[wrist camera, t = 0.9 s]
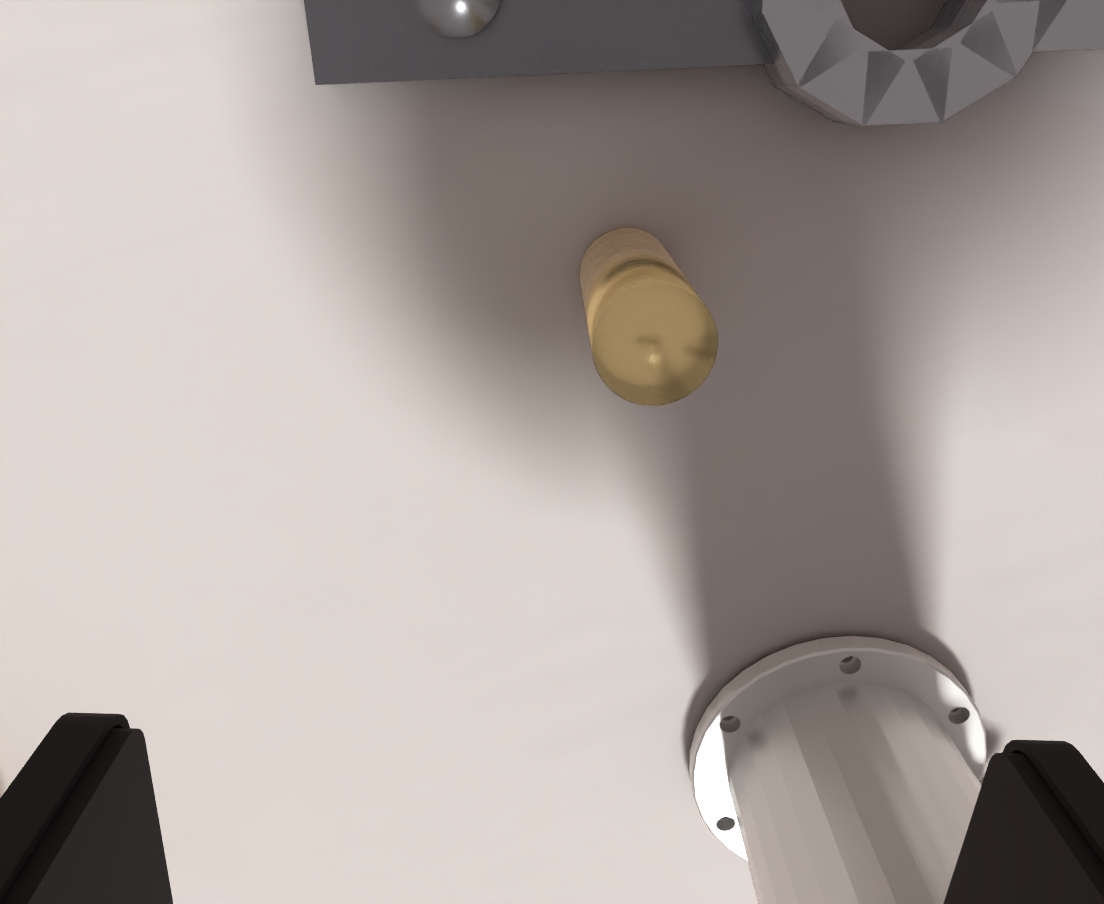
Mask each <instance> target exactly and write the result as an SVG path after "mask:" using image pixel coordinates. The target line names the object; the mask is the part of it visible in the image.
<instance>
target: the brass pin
mask: <svg viewBox="0 0 1104 904" xmlns="http://www.w3.org/2000/svg"><path fill="white" fill-rule="evenodd" d="M580 283H581V289H582V295H583V301H584V307H585V313H586V319H587V324H588V330H589V336H590V342H591V348H592V354H593V359H594V363H595V366H596V369H597V372H598V374H599V375H600V377H601V379H602V380H603V382H604V383H605V384H606V385H607V386H608V387H609V388H610V390H612V391H613V392H614V393H615V394H617V395H618V396H620V397H622V398H623V399H625V400H628V401H630V402H633V403H636V404H641V405H654V406H655V405H664V404H668V403H672V402H675V401H677V400H680V399H682V398H684V397H686V396H687V395H689V394H690V393H692V392H693V391H694V390H695V389H696V388H698V387H699V386H700V384H701V383H702V382H703V381H704V380H705V379H706V377H707V376H708V374H709V372H710V371H711V369H712V367H713V364H714V361H715V358H716V354H717V348H718V335H717V330H716V326H715V323H714V320H713V318H712V316H711V314H710V312H709V311H708V309H707V308H706V306H705V305H704V303H703V302H702V300H701V299H700V298H699V296H698V295H697V293H696V292H695V290H694V289H693V288H692V286H691V285H690V283H689V282H688V280H687V279H686V278H685V276H684V275H683V273H682V272H681V270H680V269H679V268H678V266H677V265H676V263H675V262H674V260H673V259H672V258H671V256H670V255H669V253H668V252H667V250H666V249H665V248H664V246H663V245H662V244H661V242H660V241H659V240H658V239H657V238H655V237H654V236H653V235H651V234H650V233H648V232H646V231H644V230H640V229H637V228H618V229H614V230H611V231H608V232H606V233H604V234H603V235H601V236H600V237H598V238H597V239H596V240H595V241H594V242H593V243H592V244H591V245H590V246H589V248H588V249H587V251H586V253H585V255H584V257H583V259H582V263H581V267H580Z"/></svg>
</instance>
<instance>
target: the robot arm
mask: <svg viewBox="0 0 1104 904" xmlns="http://www.w3.org/2000/svg"><path fill="white" fill-rule="evenodd" d="M986 755H987V748H986V731H985V728H984V725H983V722H982V719H981V716H980V713H979V710H978V709H977V707H976V705H975V704H974V702H973V701H972V699H971V697H970V696H969V694H968V693H967V691H966V689H965V688H964V687H963V686H962V684H961V683H960V682H959V681H958V680H957V678H956V677H955V676H954V675H953V673H952V672H951V671H950V670H949V669H947V668H946V667H945V666H943V665H942V664H941V663H939V662H938V661H937V660H935V659H934V658H933V657H931V656H930V655H928V654H925V653H923V652H921V651H919V650H917V649H915V648H913V647H911V646H909V645H906V644H902V643H898V642H894V641H890V640H886V639H882V638H873V637H861V636H843V637H830V638H821V639H817V640H813V641H809V642H804V643H800V644H796V645H793V646H790V647H788V648H786V649H783V650H781V651H778V652H776V653H773V654H771V655H768V656H766V657H765V658H763V659H761V660H760V661H758V662H756V663H755V664H753V665H751V666H750V667H748V668H747V669H745V670H743V671H742V672H741V673H740V674H739V675H737V676H736V677H735V678H734V679H733V680H732V681H730V682H729V683H728V684H727V685H726V686H725V687H723V688H722V690H721V691H720V692H719V693H718V695H717V696H716V697H715V698H714V700H713V701H712V702H711V703H710V705H709V706H708V707H707V708H706V710H705V712H704V714H703V716H702V718H701V720H700V722H699V724H698V726H697V728H696V730H695V733H694V737H693V741H692V745H691V748H690V764H689V774H690V778H691V784H692V789H693V795H694V798H695V801H696V804H697V807H698V810H699V812H700V815H701V817H702V819H703V820H704V822H705V824H706V825H707V827H708V828H709V830H710V831H711V832H712V834H713V835H714V836H715V837H717V838H718V839H719V840H720V841H721V842H722V843H723V844H724V845H725V846H726V847H727V848H728V849H729V850H731V851H733V852H734V853H736V854H737V855H739V856H741V857H742V858H744V859H745V860H747V861H748V865H749V869H750V873H751V877H752V881H753V885H754V888H755V892H756V896H757V900H758V904H1104V783H1103V781H1102V780H1101V779H1100V778H1099V776H1098V775H1097V774H1096V772H1095V771H1094V770H1093V769H1092V767H1091V766H1090V765H1089V764H1088V762H1087V761H1086V760H1085V758H1084V757H1083V756H1082V755H1081V753H1080V752H1079V751H1078V750H1077V749H1076V748H1075V747H1074V746H1073V745H1072V744H1070V743H1067V742H1065V741H1039V740H1012V741H1010V742H1009V743H1008V744H1007V745H1006V746H1005V748H1004V750H1003V752H1002V753H996V754H994V755H993V756H992V757H991V759H990V761H989V764H988V767H987V770H986V773H985V776H984V780H983V783H982V785H981V784H980V780H981V778H982V775H983V771H984V765H985V760H986ZM0 904H173V900H172V894H171V888H170V882H169V877H168V871H167V865H166V859H165V853H164V847H163V842H162V836H161V830H160V824H159V818H158V813H157V807H156V801H155V795H154V789H153V784H152V778H151V772H150V766H149V760H148V754H147V749H146V743H145V738H144V734H143V732H142V731H141V730H140V729H131V728H130V727H129V724H128V720H127V719H126V718H125V716H124V715H120V714H96V713H67V714H64V715H62V716H61V717H60V718H59V719H58V720H57V721H56V723H55V724H54V725H53V727H52V728H51V729H50V731H49V732H48V734H47V735H46V736H45V738H44V739H43V740H42V742H41V743H40V745H39V746H38V747H37V749H36V750H35V751H34V753H33V754H32V756H31V757H30V758H29V760H28V761H27V762H26V764H25V765H24V767H23V768H22V769H21V771H20V772H19V774H18V775H17V776H16V778H15V779H14V780H13V782H12V783H11V785H10V786H9V787H8V789H7V790H6V791H5V793H4V794H3V796H2V797H1V798H0Z"/></svg>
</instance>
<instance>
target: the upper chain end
mask: <svg viewBox="0 0 1104 904" xmlns="http://www.w3.org/2000/svg"><path fill="white" fill-rule="evenodd" d="M750 15H751V17H752V19H753V21H754V23H755V25H756V27H757V29H758V31H759V33H760V35H761V37H762V39H763V41H764V43H765V45H766V47H767V49H768V51H769V53H770V55H771V57H772V59H773V61H774V64H775V66H776V68H777V70H778V72H779V74H780V76H781V78H782V80H783V82H784V84H785V86H786V88H790V89H791V90H793V91H795V92H796V93H798V94H800V95H801V96H803V97H805V98H806V99H808V100H810V101H811V102H813V103H815V104H816V105H818V106H820V107H821V108H823V109H825V110H826V111H828V112H830V113H831V114H833V115H835V116H836V117H838V118H840V119H841V120H843V121H845V122H846V123H847V124H852V125H859V126H867V125H890V124H912V123H934V122H936V123H941V122H944V121H945V120H946V119H948V118H949V117H951V116H953V115H954V114H956V113H958V112H959V111H961V110H963V109H964V108H966V107H967V106H969V105H971V104H972V103H974V102H976V101H977V100H979V99H980V98H982V97H984V96H985V95H987V94H989V93H990V92H992V91H994V90H995V89H997V88H998V87H1000V86H1002V85H1003V84H1005V83H1007V82H1008V81H1010V80H1012V79H1013V78H1016V76H1018V73H1019V72H1020V70H1021V69H1022V67H1023V66H1024V64H1025V63H1026V61H1027V60H1028V58H1029V57H1030V55H1031V54H1032V52H1042V51H1064V50H1086V49H1104V0H966V2H965V3H964V5H963V7H962V8H961V10H960V11H959V13H958V15H957V16H956V18H955V19H954V21H953V23H952V24H951V26H949V27H948V28H946V29H945V30H943V31H942V32H940V33H938V34H937V35H935V36H934V37H932V38H930V39H929V40H927V41H926V42H924V43H923V44H921V45H919V46H918V47H916V48H915V49H913V50H891V51H889V50H887V49H886V48H884V47H882V46H881V45H879V44H878V43H876V42H874V41H873V40H871V39H870V38H868V37H866V36H865V35H863V34H861V33H860V32H858V31H857V30H855V29H854V28H853V26H852V24H851V22H850V20H849V17H848V15H847V13H846V11H845V9H844V6H843V4H842V2H841V0H751V14H750Z"/></svg>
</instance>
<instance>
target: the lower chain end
mask: <svg viewBox="0 0 1104 904" xmlns="http://www.w3.org/2000/svg"><path fill="white" fill-rule="evenodd" d="M304 2H305V10H306V17H307V25H308V32H309V39H310V47H311V54H312V62H313V69H314V76H315V84H316V85H325V84H347V83H369V82H391V81H412V80H434V79H456V78H478V77H499V76H521V75H543V74H564V73H586V72H608V71H630V70H651V69H673V68H695V67H717V66H738V65H760V64H763V65H764V67H765V69H766V71H767V73H768V75H769V77H770V79H771V81H772V83H773V85H774V87H777V88H779V89H780V90H782V91H784V92H785V93H787V94H789V95H790V96H792V97H794V98H795V99H797V100H799V101H800V102H802V103H804V104H805V105H807V106H809V107H810V108H812V109H814V110H816V111H817V112H819V113H821V114H822V115H824V116H826V117H827V118H829V119H831V120H832V121H834V122H839V123H845V124H847V123H846V122H845V121H843V120H841V119H840V118H838V117H836V116H835V115H833V114H831V113H830V112H828V111H826V110H825V109H823V108H821V107H820V106H818V105H816V104H815V103H813V102H811V101H810V100H808V99H806V98H805V97H803V96H801V95H800V94H798V93H796V92H795V91H793V90H791V89H790V88H786V86H785V84H784V82H783V80H782V78H781V76H780V74H779V72H778V70H777V68H776V66H775V64H774V61H773V59H772V57H771V55H770V53H769V51H768V49H767V47H766V45H765V43H764V41H763V39H762V37H761V35H760V33H759V31H758V29H757V27H756V25H755V23H754V21H753V19H752V17H751V15H750V14H751V0H304ZM965 2H966V0H948V1H947V2H946V4H945V6H944V7H943V9H942V10H941V12H940V14H939V15H938V17H937V19H936V20H935V22H934V23H933V25H932V27H931V28H930V29H929V30H927V31H926V32H924V33H922V34H921V35H919V36H918V37H916V38H915V39H913V40H911V41H910V42H908V43H907V44H905V45H904V46H902V47H900V48H899V49H897V50H913V49H915V48H916V47H918V46H919V45H921V44H923V43H924V42H926V41H927V40H929V39H930V38H932V37H934V36H935V35H937V34H938V33H940V32H942V31H943V30H945V29H946V28H948V27H949V26H951V24H952V23H953V21H954V19H955V18H956V16H957V15H958V13H959V11H960V10H961V8H962V7H963V5H964V3H965Z"/></svg>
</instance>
